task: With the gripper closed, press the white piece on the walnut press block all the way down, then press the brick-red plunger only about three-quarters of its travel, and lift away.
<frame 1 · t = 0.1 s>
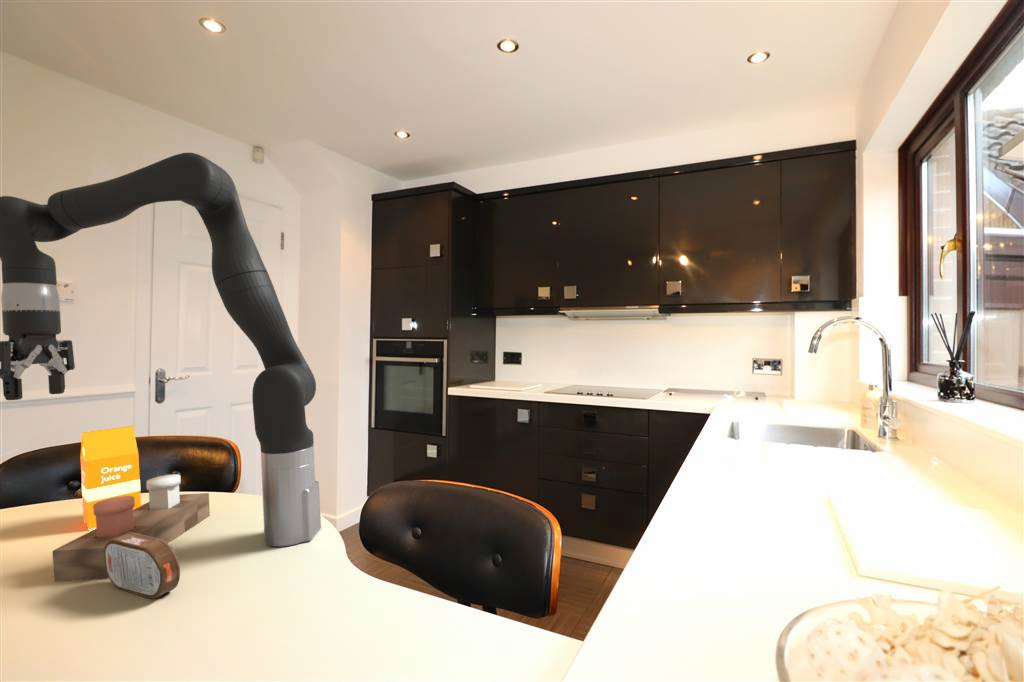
hand: (36, 396, 87), 29 cm above the table, fingers open, 8 cm apart
brick plunger: (115, 519, 83), point 7 cm above the table, slide at 0.0 cm
press block: (143, 543, 90), on the table
orange juice: (112, 520, 102), on the table
tin: (141, 592, 72), on the table
white piece: (164, 494, 96), point 7 cm above the table, slide at 0.0 cm
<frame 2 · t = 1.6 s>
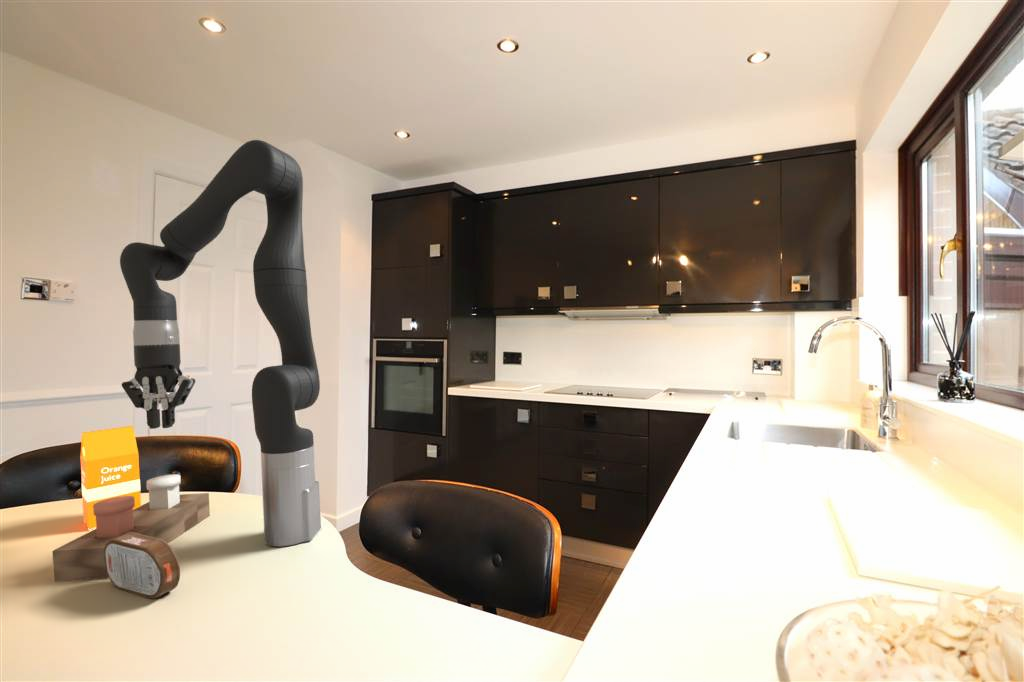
hand: (161, 427, 96), 21 cm above the table, fingers closed
nothing on the table moved.
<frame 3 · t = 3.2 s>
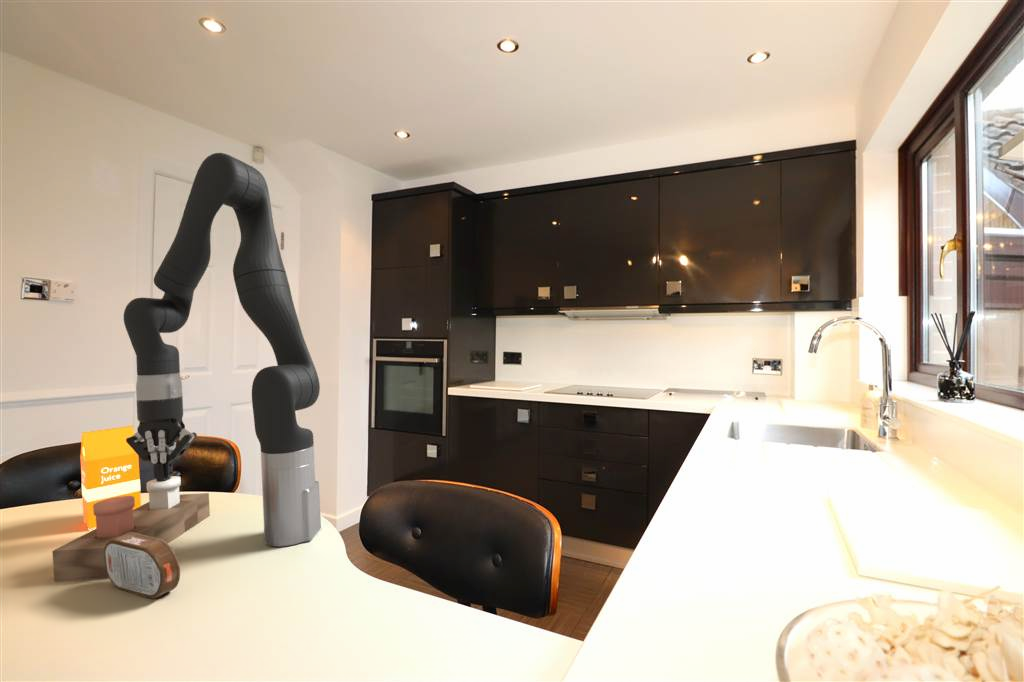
hand: (163, 480, 96), 10 cm above the table, fingers closed
white piece: (164, 496, 96), point 7 cm above the table, slide at 0.4 cm, touching gripper
everything else where it was.
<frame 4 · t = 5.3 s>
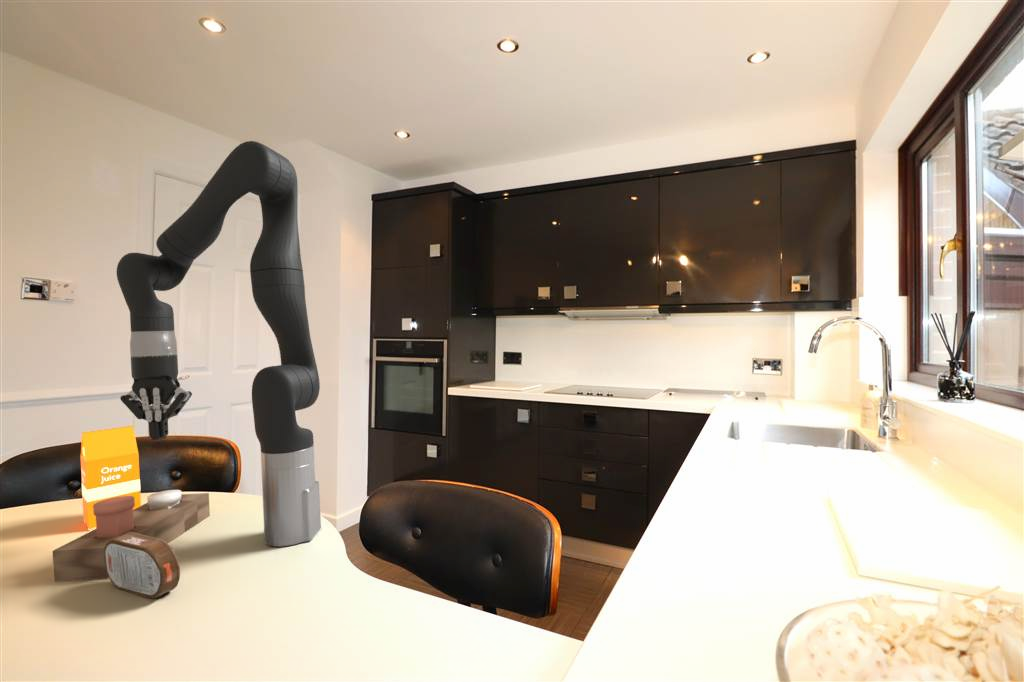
hand: (158, 439, 95), 19 cm above the table, fingers closed
white piece: (165, 510, 96), point 4 cm above the table, slide at 3.2 cm
everything else where it was.
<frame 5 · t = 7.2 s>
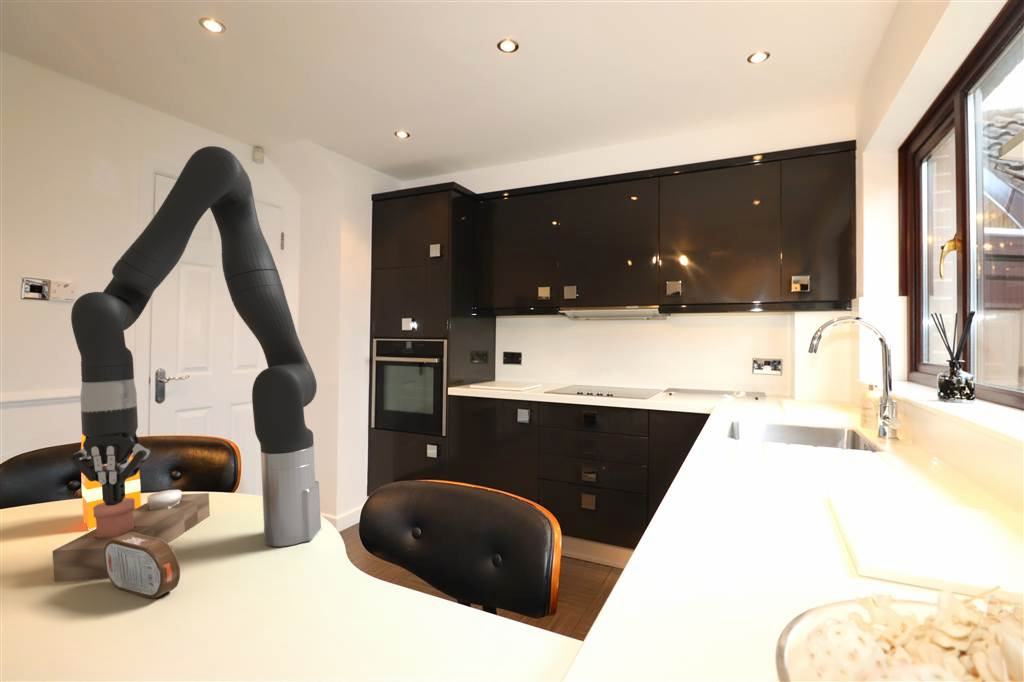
hand: (114, 503, 83), 10 cm above the table, fingers closed
brick plunger: (115, 521, 83), point 7 cm above the table, slide at 0.4 cm, touching gripper
everything else where it was.
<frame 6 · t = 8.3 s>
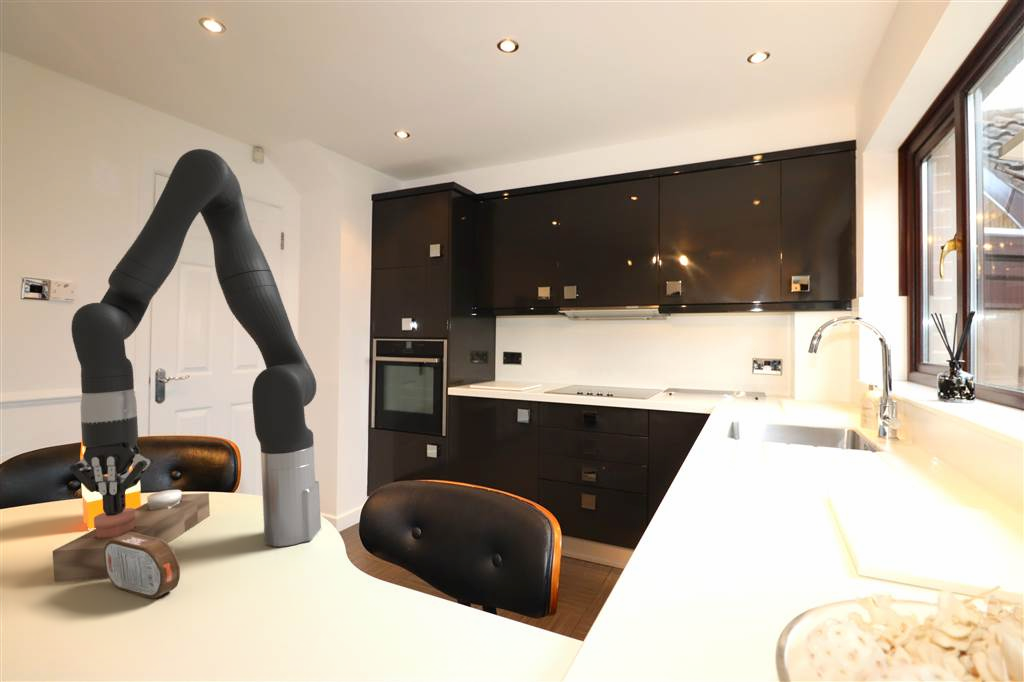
hand: (114, 513, 83), 8 cm above the table, fingers closed
brick plunger: (115, 531, 83), point 5 cm above the table, slide at 2.2 cm, touching gripper
everything else where it was.
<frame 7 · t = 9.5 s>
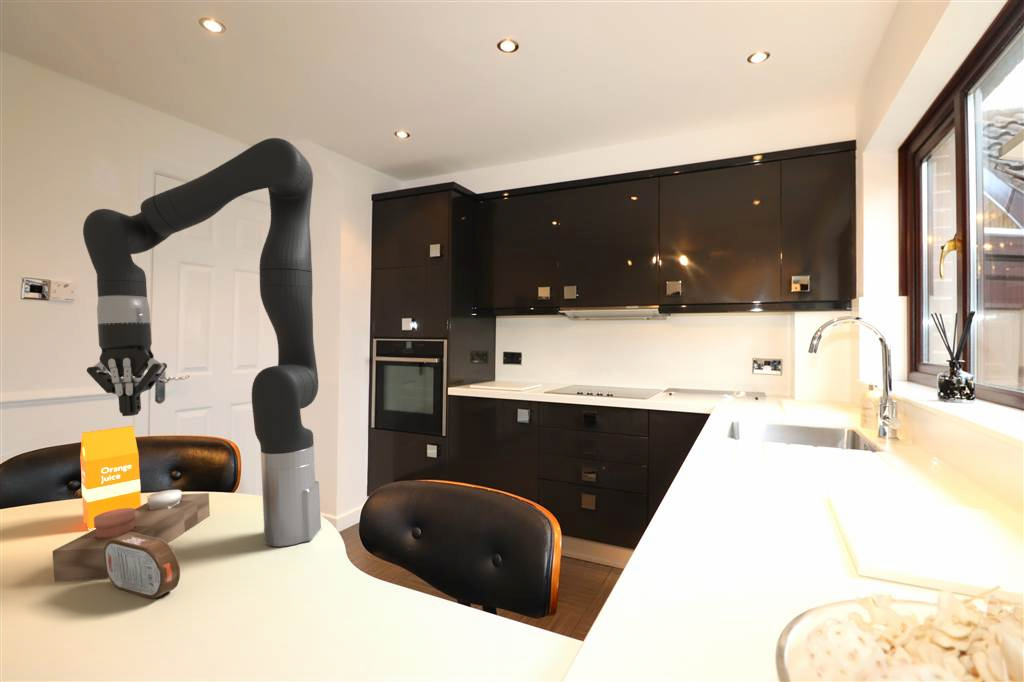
hand: (130, 415, 87), 25 cm above the table, fingers closed
brick plunger: (115, 531, 83), point 5 cm above the table, slide at 2.2 cm
everything else where it was.
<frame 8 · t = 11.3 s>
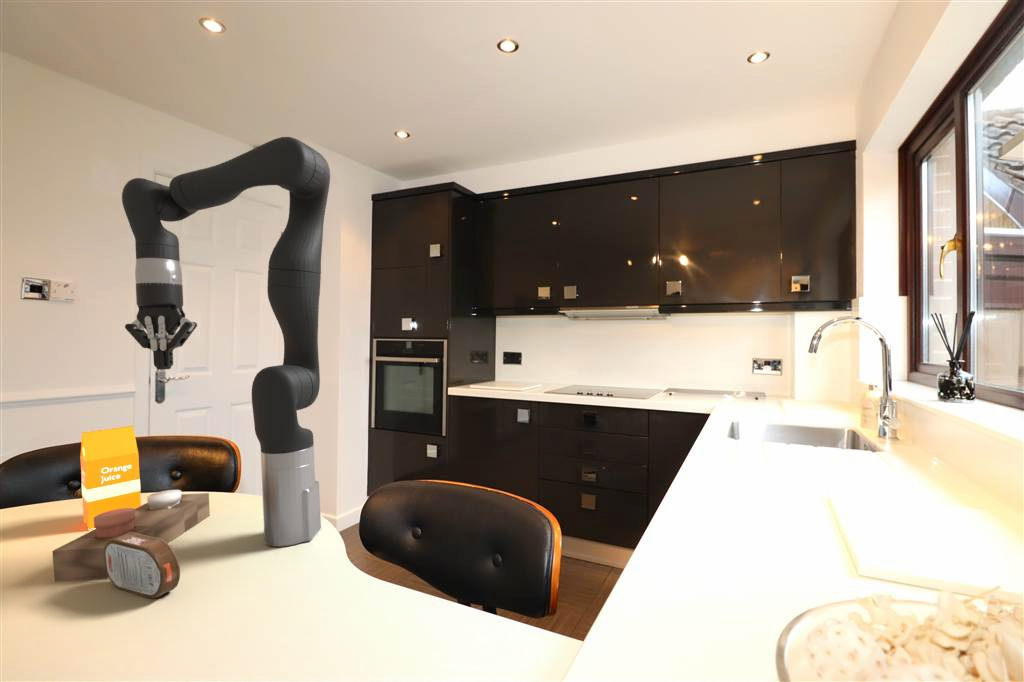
hand: (163, 369, 94), 33 cm above the table, fingers closed
nothing on the table moved.
at the end: white piece slide at 3.2 cm; brick plunger slide at 2.2 cm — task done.
